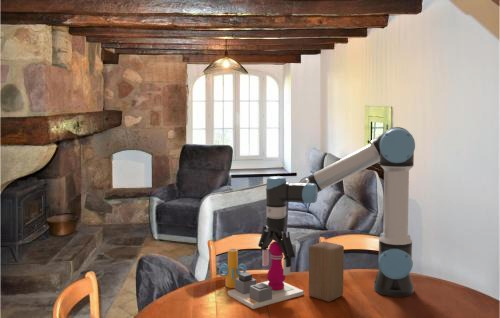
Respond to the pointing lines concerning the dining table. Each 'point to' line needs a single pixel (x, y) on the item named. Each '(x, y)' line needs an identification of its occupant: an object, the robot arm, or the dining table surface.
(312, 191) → the robot arm
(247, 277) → the block
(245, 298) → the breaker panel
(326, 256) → the wooden block
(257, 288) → the block
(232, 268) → the yellow post with loops
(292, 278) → the dining table surface
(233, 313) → the dining table surface
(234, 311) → the dining table surface
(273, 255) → the pepper mill
